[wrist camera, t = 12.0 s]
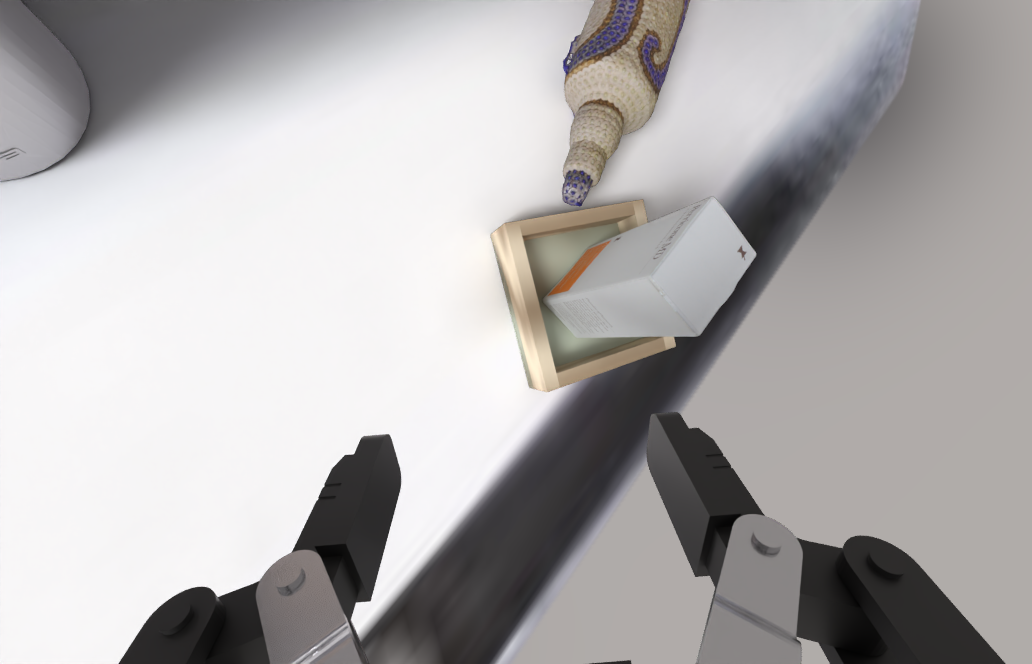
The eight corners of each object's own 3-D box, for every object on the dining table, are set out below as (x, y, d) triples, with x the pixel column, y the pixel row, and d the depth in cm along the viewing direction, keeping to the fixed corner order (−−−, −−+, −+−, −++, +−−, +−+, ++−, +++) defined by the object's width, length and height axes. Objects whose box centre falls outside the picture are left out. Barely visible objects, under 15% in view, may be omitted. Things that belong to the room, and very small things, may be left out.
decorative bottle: (610, -77, 34) (668, -171, 27) (675, -16, 36) (741, -90, 30) (503, 189, 29) (543, 148, 23) (586, 236, 32) (641, 211, 26)
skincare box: (586, 245, 31) (716, 190, 20) (620, 285, 32) (761, 254, 21) (537, 301, 29) (649, 276, 18) (575, 341, 30) (702, 340, 19)
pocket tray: (490, 234, 29) (504, 223, 26) (618, 211, 33) (642, 199, 30) (529, 387, 30) (547, 392, 27) (649, 345, 34) (675, 346, 31)
